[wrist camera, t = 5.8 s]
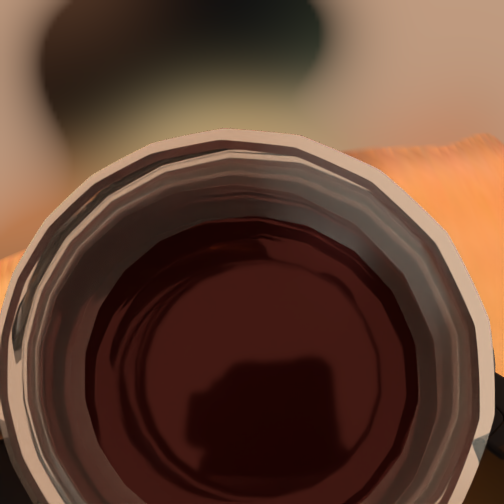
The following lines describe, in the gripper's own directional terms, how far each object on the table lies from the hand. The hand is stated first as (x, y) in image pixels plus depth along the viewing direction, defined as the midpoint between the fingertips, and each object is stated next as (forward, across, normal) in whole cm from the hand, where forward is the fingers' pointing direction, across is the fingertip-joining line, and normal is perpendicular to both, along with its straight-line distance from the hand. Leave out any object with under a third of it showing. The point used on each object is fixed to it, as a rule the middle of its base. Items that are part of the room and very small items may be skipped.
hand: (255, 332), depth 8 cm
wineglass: (+4, 0, +6) cm, 7 cm away
